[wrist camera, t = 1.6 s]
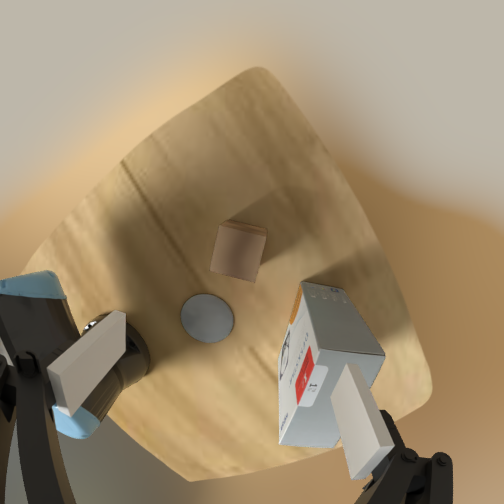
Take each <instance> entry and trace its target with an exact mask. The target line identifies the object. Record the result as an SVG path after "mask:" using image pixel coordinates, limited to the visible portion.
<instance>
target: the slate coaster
mask: <svg viewBox="0 0 504 504" xmlns="http://www.w3.org/2000/svg"><path fill="white" fill-rule="evenodd" d="M181 322H182V325H183V327H184V329H185V330H186V331H187V333H188V334H189V335H190V336H192V337H193V338H195V339H197V340H199V341H202V342H206V343H214V342H218V341H221V340H223V339H224V338H226V337H227V336H228V335H229V333H230V332H231V330H232V327H233V315H232V312H231V310H230V308H229V306H228V305H227V304H226V303H225V302H224V301H223V300H222V299H220V298H218V297H216V296H214V295H210V294H199V295H195V296H193V297H191V298H190V299H189V300H187V301H186V303H185V304H184V306H183V308H182V310H181Z"/></svg>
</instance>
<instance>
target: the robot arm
mask: <svg viewBox="0 0 504 504" xmlns="http://www.w3.org/2000/svg"><path fill="white" fill-rule="evenodd" d="M66 299H67V297H66V295H65V294H64V292H63V289H62V287H61V284H60V282H59V279H58V277H57V275H56V274H55V273H54V272H52V271H49V270H45V271H40V272H35V273H30V274H26V275H21V276H16V277H12V278H7V279H3V280H0V504H5V485H6V473H7V466H8V458H9V452H10V446H11V440H12V436H13V431H14V426H15V422H16V419H17V435H18V448H19V456H20V464H21V470H22V475H23V481H24V486H25V491H26V495H27V500H28V504H76V501H75V498H74V496H73V493H72V490H71V487H70V483H69V480H68V477H67V473H66V470H65V466H64V462H63V458H62V454H61V450H60V446H59V441H58V435H57V430H58V431H60V432H61V433H63V434H66V435H68V436H70V437H73V438H77V439H85V438H88V437H89V436H90V435H91V434H92V433H93V432H94V430H95V429H96V428H97V427H99V426H100V423H101V421H102V420H103V419H104V417H105V416H106V414H107V413H108V411H109V410H110V408H111V407H112V405H113V403H114V402H115V400H116V399H117V398H118V396H119V394H120V393H121V392H122V390H124V389H126V388H127V387H129V386H131V385H132V384H134V383H136V382H138V381H139V380H140V379H141V378H142V377H143V376H144V375H145V373H146V372H147V370H148V368H149V364H150V356H149V352H148V348H147V346H146V344H145V342H144V340H143V339H142V337H141V336H140V335H139V333H138V332H137V331H136V330H135V329H134V328H133V327H132V326H131V325H129V324H128V323H127V322H126V313H123V312H120V311H117V310H114V311H113V312H112V313H110V314H109V315H101V316H98V317H96V318H94V319H93V320H92V321H90V322H89V323H88V324H87V325H86V327H85V328H84V330H83V332H82V334H81V336H80V334H79V331H78V329H77V326H76V324H75V321H74V319H73V316H72V314H71V311H70V308H69V305H68V303H67V300H66ZM330 398H331V402H332V405H333V409H334V413H335V417H336V421H337V424H338V428H339V432H340V436H341V440H342V444H343V448H344V452H345V456H346V460H347V464H348V468H349V473H350V477H351V480H358V479H365V478H366V477H367V476H368V475H369V474H370V473H372V476H373V479H372V480H371V481H370V482H369V483H368V484H367V485H366V486H365V487H363V489H364V491H363V492H362V494H361V495H360V497H359V498H358V499H357V501H356V502H355V504H453V465H452V460H451V458H450V456H448V455H447V454H446V453H443V452H438V453H435V454H434V455H433V456H432V458H422V457H419V456H418V454H417V453H416V452H415V451H414V450H412V449H409V448H406V447H405V445H404V443H403V440H402V438H401V436H400V434H399V432H398V430H397V428H396V426H395V424H394V421H393V419H392V417H391V415H390V414H389V413H388V412H387V411H386V410H379V409H378V406H377V404H376V402H375V400H374V398H373V396H372V393H371V391H370V389H369V387H368V385H367V383H366V381H365V378H364V376H363V374H362V372H361V370H360V368H359V366H358V364H351V363H346V365H345V367H344V369H343V372H342V374H341V376H340V378H339V380H338V382H337V384H336V386H335V388H334V390H333V392H332V394H331V396H330Z"/></svg>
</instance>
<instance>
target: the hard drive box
mask: <svg viewBox="0 0 504 504" xmlns="http://www.w3.org/2000/svg"><path fill="white" fill-rule="evenodd" d="M384 360H385V352H384V351H383V349H382V347H381V346H380V344H379V343H378V341H377V340H376V338H375V337H374V335H373V334H372V332H371V331H370V329H369V328H368V326H367V325H366V323H365V322H364V320H363V318H362V317H361V316H360V314H359V313H358V311H357V310H356V308H355V307H354V305H353V304H352V302H351V301H350V299H349V297H348V296H347V295H346V293H345V291H344V290H343V289H340V288H335V287H330V286H325V285H319V284H314V283H309V282H303V281H302V282H301V283H300V286H299V290H298V293H297V297H296V300H295V304H294V308H293V311H292V315H291V318H290V322H289V325H288V328H287V332H286V335H285V338H284V341H283V345H282V348H281V351H280V355H279V358H278V378H279V444H280V445H289V446H301V447H319V448H333V447H334V446H335V445H336V444H337V442H338V441H339V439H340V438H341V436H340V432H339V428H338V424H337V421H336V417H335V413H334V409H333V405H332V402H331V398H330V396H331V394H332V392H333V390H334V388H335V386H336V384H337V382H338V380H339V378H340V376H341V374H342V372H343V369H344V367H345V365H346V363H351V364H358V366H359V368H360V370H361V372H362V374H363V376H364V378H365V381H366V383H367V385H368V387H369V389H370V388H371V386H372V384H373V382H374V380H375V378H376V377H377V374H378V372H379V370H380V368H381V366H382V364H383V362H384Z"/></svg>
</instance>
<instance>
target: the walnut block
mask: <svg viewBox="0 0 504 504" xmlns="http://www.w3.org/2000/svg"><path fill="white" fill-rule="evenodd" d="M266 238H267V229H264V228H261V227H257V226H253V225H249V224H245V223H240V222H236V221H232V220H227V221H225V222H224V223H222V224H220V225H219V228H218V233H217V237H216V242H215V246H214V251H213V255H212V260H211V265H210V270H209V271H211V272H215V273H219V274H223V275H227V276H231V277H234V278H238V279H242V280H246V281H250V282H254V283H255V280H256V276H257V273H258V269H259V265H260V261H261V257H262V253H263V249H264V246H265V242H266Z"/></svg>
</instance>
